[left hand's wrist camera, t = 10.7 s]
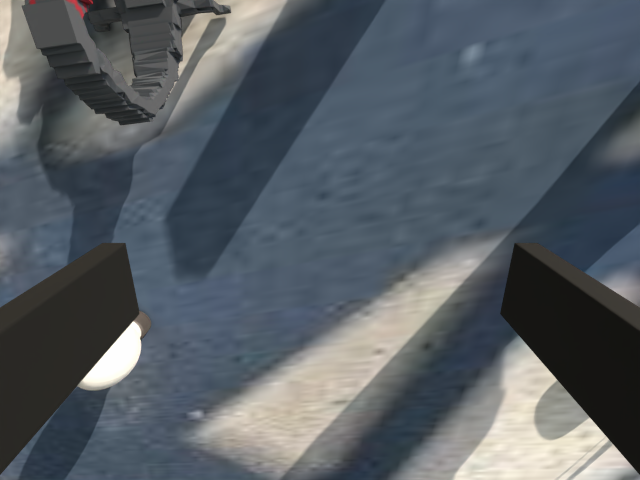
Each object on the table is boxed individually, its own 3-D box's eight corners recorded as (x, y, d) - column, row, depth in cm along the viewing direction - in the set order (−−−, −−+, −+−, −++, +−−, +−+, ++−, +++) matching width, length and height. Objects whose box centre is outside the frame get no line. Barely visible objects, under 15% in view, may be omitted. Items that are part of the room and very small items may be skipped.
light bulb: (165, 309, 47) (122, 366, 36) (154, 348, 49) (109, 413, 38) (114, 291, 46) (54, 345, 35) (104, 333, 48) (45, 395, 38)
